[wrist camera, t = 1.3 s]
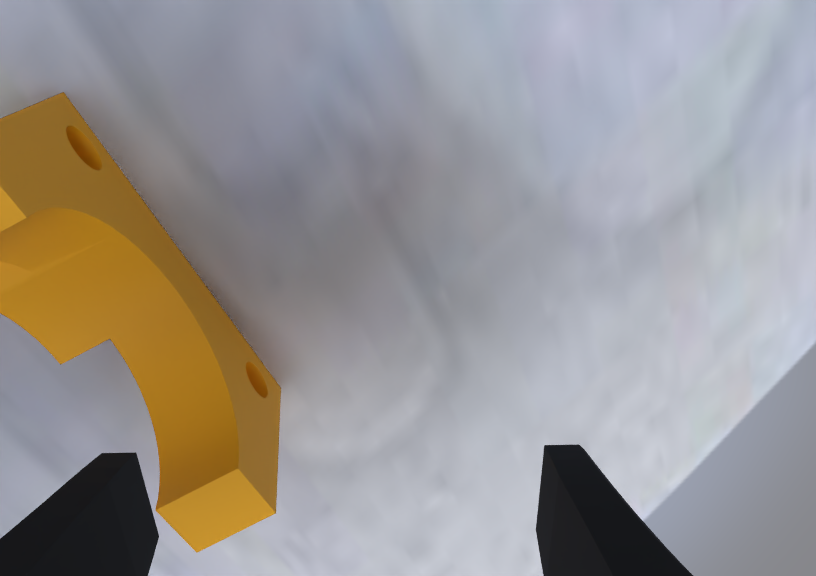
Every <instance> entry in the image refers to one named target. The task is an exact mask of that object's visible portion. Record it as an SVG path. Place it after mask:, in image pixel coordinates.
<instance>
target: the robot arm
mask: <svg viewBox="0 0 816 576" xmlns="http://www.w3.org/2000/svg"><path fill="white" fill-rule="evenodd" d="M536 533H537V539H538V545H539V551H540V557H541V563H542V569H543V574H544V576H693V575H692V574H691V573H690V572H689V571H688V570H687V569H686V568H685V567H684V566H683V565H682V564H681V563H680V562H679V561H678V560H677V558H676V557H675V556H674V555H673V554H672V553H671V552H670V551H669V550H668V549H667V548H666V547H665V546H664V544H663V543H662V542H661V541H660V540H659V539H658V538H657V537H656V536H655V534H654V533H653V532H652V531H651V530H650V529H649V528H648V527H647V525H646V524H645V523H644V522H643V521H642V520H641V519H640V518H639V516H638V515H637V514H636V513H635V512H634V511H633V509H632V508H631V507H630V506H629V505H628V503H627V502H626V501H625V500H624V499H623V497H622V496H621V495H620V494H619V493H618V491H617V490H616V489H615V488H614V487H613V485H612V484H611V483H610V482H609V480H608V479H607V478H606V477H605V475H604V474H603V473H602V472H601V470H600V469H599V468H598V466H597V465H596V464H595V463H594V461H593V460H592V459H591V457H590V456H589V455H588V454H587V452H586V451H585V450H584V449H583V448H582V447H581V446H580V445H544V455H543V465H542V475H541V485H540V495H539V505H538V515H537V524H536ZM158 538H159V535H158V531H157V527H156V524H155V520H154V516H153V513H152V509H151V505H150V502H149V498H148V494H147V491H146V487H145V483H144V480H143V476H142V472H141V469H140V465H139V461H138V458H137V454H136V453H102V454H100V455H99V456H98V457H97V458H95V459H94V460H93V461H92V462H90V463H89V464H88V465H87V466H86V467H84V468H83V469H82V470H81V471H80V472H78V473H77V474H76V475H75V476H74V477H73V478H71V479H70V480H69V481H68V482H67V483H66V484H64V485H63V486H62V487H61V488H60V489H59V490H57V491H56V492H55V493H54V494H53V495H52V496H50V497H49V498H48V499H47V500H46V501H45V502H44V503H42V504H41V505H40V506H39V507H38V508H36V509H35V510H34V511H33V512H32V513H31V514H29V515H28V516H27V517H26V518H25V519H23V520H22V521H21V522H20V523H19V524H18V525H16V526H15V527H14V528H13V529H12V530H10V531H9V532H8V533H7V534H6V535H4V536H3V537H2V538H1V539H0V576H148V573H149V570H150V566H151V563H152V559H153V556H154V552H155V549H156V545H157V542H158Z"/></svg>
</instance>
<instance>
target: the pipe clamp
mask: <svg viewBox="0 0 816 576" xmlns="http://www.w3.org/2000/svg"><path fill="white" fill-rule="evenodd" d="M0 313H1V314H3V315H4V316H6V317H8V318H9V319H11V320H12V321H14V322H15V323H17V324H18V325H19V326H21V327H22V328H24V329H25V330H26V331H27V332H28V333H30V334H31V335H32V336H33V337H35V338H36V339H37V340H38V341H39V342H40V343H41V344H42V345H43V346H44V347H45V348H46V349H47V350H48V351H49V352H50V353H51V354H52V355H53V356H54V358H55V359H56V360H57V361H58V362H59V363H60V365H61V364H63V363H64V362H66V361H68V360H70V359H72V358H74V357H76V356H78V355H80V354H82V353H83V352H85V351H87V350H89V349H91V348H93V347H95V346H97V345H99V344H101V343H102V342H104V341H106V340H108V339H110V340H111V341H112V342H113V344H114V345H115V347H116V348H117V349H118V351H119V352H120V354H121V355H122V357H123V359H124V360H125V362H126V364H127V365H128V367H129V369H130V370H131V372H132V374H133V376H134V378H135V380H136V382H137V384H138V386H139V388H140V390H141V393H142V395H143V397H144V400H145V402H146V405H147V408H148V411H149V414H150V417H151V420H152V424H153V427H154V431H155V435H156V441H157V446H158V453H159V464H160V486H159V494H158V501H157V505H156V511H157V512H158V513H159V514H160V515H161V516H162V517H163V518H164V519H165V521H166V522H167V523H168V524H169V525H170V526H171V527H172V528H173V529H174V530H175V531H176V532H177V533H178V534H179V535H180V536H181V537H182V538H183V539H184V540H185V541H186V542H187V543H188V544H189V545H190V546H191V547H192V548H193V549H194V550H195V551H196V552H199V551H201V550H203V549H205V548H207V547H209V546H211V545H213V544H215V543H217V542H219V541H221V540H223V539H225V538H227V537H229V536H231V535H233V534H235V533H237V532H239V531H241V530H243V529H245V528H247V527H249V526H251V525H253V524H255V523H257V522H259V521H261V520H263V519H265V518H267V517H269V516H271V515H273V514H275V513H276V497H277V472H278V447H279V422H280V397H281V388H280V386H279V385H278V384H277V382H276V381H275V380H274V378H273V377H272V375H271V374H270V373H269V371H268V370H267V369H266V367H265V366H264V365H263V363H262V362H261V360H260V359H259V358H258V356H257V355H256V354H255V352H254V351H253V350H252V348H251V347H250V345H249V344H248V343H247V341H246V340H245V339H244V337H243V336H242V335H241V333H240V332H239V331H238V329H237V328H236V326H235V325H234V324H233V322H232V321H231V320H230V318H229V317H228V316H227V314H226V313H225V311H224V310H223V309H222V307H221V306H220V305H219V303H218V302H217V301H216V299H215V298H214V296H213V295H212V294H211V292H210V291H209V290H208V288H207V287H206V286H205V284H204V283H203V281H202V280H201V279H200V277H199V276H198V275H197V273H196V272H195V271H194V269H193V268H192V266H191V265H190V264H189V262H188V261H187V260H186V258H185V257H184V256H183V254H182V253H181V252H180V250H179V249H178V247H177V246H176V245H175V243H174V242H173V241H172V239H171V238H170V237H169V235H168V234H167V232H166V231H165V230H164V228H163V227H162V226H161V224H160V223H159V222H158V220H157V219H156V217H155V216H154V215H153V213H152V212H151V211H150V209H149V208H148V207H147V205H146V204H145V202H144V201H143V200H142V198H141V197H140V196H139V194H138V193H137V192H136V190H135V189H134V187H133V186H132V185H131V183H130V182H129V181H128V179H127V178H126V177H125V175H124V174H123V172H122V171H121V170H120V168H119V167H118V166H117V164H116V163H115V162H114V160H113V159H112V158H111V156H110V155H109V153H108V152H107V151H106V149H105V148H104V147H103V145H102V144H101V143H100V141H99V140H98V138H97V137H96V136H95V134H94V133H93V132H92V130H91V129H90V128H89V126H88V125H87V123H86V122H85V121H84V119H83V118H82V117H81V115H80V114H79V113H78V111H77V110H76V108H75V107H74V106H73V104H72V103H71V102H70V100H69V99H68V98H67V96H66V95H65V93H64V92H63V93H60V94H58V95H56V96H53V97H51V98H48V99H46V100H44V101H41V102H39V103H37V104H34V105H32V106H29V107H27V108H25V109H22V110H20V111H18V112H15V113H13V114H10V115H8V116H6V117H3V118H1V119H0Z"/></svg>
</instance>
